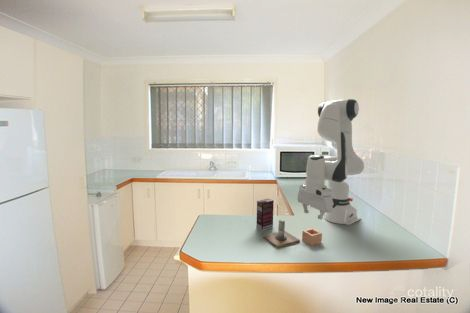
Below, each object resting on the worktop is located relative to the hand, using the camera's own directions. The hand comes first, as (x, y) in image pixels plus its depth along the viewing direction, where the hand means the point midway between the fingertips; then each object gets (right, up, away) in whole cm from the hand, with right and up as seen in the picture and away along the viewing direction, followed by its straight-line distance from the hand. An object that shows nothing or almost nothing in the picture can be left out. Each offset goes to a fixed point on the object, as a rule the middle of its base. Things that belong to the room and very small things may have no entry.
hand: (312, 215), depth 133 cm
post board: (-15, -13, +3) cm, 20 cm away
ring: (0, -13, +2) cm, 14 cm away
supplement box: (-22, -11, +18) cm, 30 cm away
